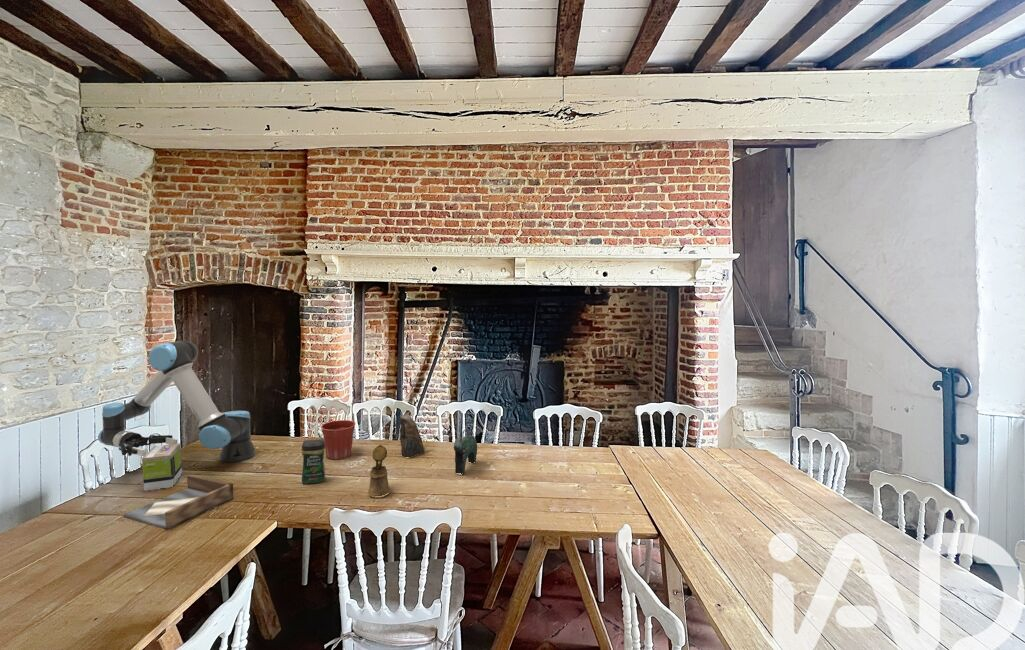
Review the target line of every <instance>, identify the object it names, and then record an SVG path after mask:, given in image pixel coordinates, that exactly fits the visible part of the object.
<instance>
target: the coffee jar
mask: <svg viewBox="0 0 1025 650" xmlns="http://www.w3.org/2000/svg"><path fill="white" fill-rule="evenodd" d="M324 452H326V450H325V442H324V438H322V439H321V438H320V439H311V440H310V439H309V440H308V439H307V440H306V439H305V440H303V441H302V444H301V454H302V457H303V458H302V459H303V460H302V471H301V472H302V473H301V483H303V484H304V485H309V483H310V484H317V483H318V482H319V483H322V482H323V481H325V479H326V468H325V459H324V458H325V453H324Z"/></svg>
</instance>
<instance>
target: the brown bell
mask: <svg viewBox="0 0 1025 650" xmlns="http://www.w3.org/2000/svg"><path fill="white" fill-rule="evenodd" d="M387 455H388V449H387V448H386V447H385V446H383V445H381V444H379V445H377V446H376V447H375V448H374V449H373V450H372V459H373V460H374V461H375V466H372V467H371V468H370V469H371V470H370V472H369V476H370V479H369V487H368V490H367V491H368V492H367V494H369V495H370V496H374V497H375V496H382V495H385V494H387V493H389V491H390V492H391V489H390V485H389V479H388V470H387V467H386V465H383V460H385V459H386V458H387ZM369 495H368V496H369Z"/></svg>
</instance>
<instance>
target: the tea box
mask: <svg viewBox="0 0 1025 650" xmlns="http://www.w3.org/2000/svg"><path fill="white" fill-rule="evenodd" d="M181 449H182V448H181V443H179V442H178V444H162V445H154V446H153V447H152V448H151V449H150V450H149V451H147V453H146V454H145V456H142V458H141V464H142V465H141V466H142V478H143V479H142V480H143V491H144V490H151V491H153V490H152V489H158V490H161V489H160V488H166V489H169V488H168V487H172V488H173V487H174V486H173V485H175V484H176V483H177V481H179V479H180V477H181V476H182V475H183V463H182V452H181ZM181 474H182V475H181ZM178 478H179V479H178Z"/></svg>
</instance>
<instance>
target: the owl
mask: <svg viewBox="0 0 1025 650" xmlns="http://www.w3.org/2000/svg"><path fill="white" fill-rule="evenodd" d="M399 424H400V428H399V438H398V440H399V442H400V447H401V448H400V449H401V450H400V451H401V453H402V454H401V455H402V456H404V457H403V458H405V457H411V456H414V457H416V456H418V455H417V454H420V455H422V454H424V453H423V452H425V448H424V447H425V446H424V444H423V439H422V437H421V434H420V431H419V428H418V426H417V423H416V422H415V420H414V418H413V417H412V416H411V414H409V413H408V412H406V413H405V414H402V415H400V417H399ZM421 453H422V454H421ZM415 455H416V456H415ZM402 456H401V457H402ZM411 458H412V457H411Z"/></svg>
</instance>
